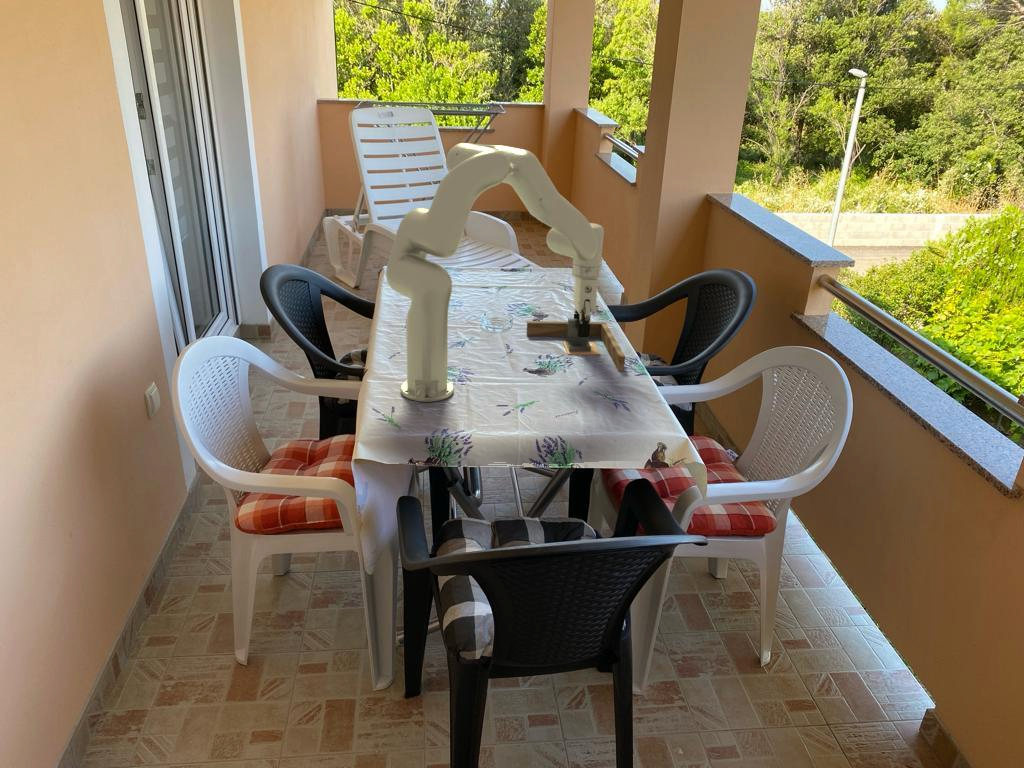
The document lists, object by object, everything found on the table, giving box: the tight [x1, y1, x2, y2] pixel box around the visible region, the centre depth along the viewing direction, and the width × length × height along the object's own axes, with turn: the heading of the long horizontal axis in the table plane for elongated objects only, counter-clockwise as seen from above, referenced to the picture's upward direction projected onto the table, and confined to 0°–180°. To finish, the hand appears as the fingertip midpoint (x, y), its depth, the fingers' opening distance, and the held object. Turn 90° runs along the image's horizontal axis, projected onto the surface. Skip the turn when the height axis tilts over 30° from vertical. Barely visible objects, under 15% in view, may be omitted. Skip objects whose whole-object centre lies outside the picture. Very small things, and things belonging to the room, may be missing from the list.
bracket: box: [565, 318, 591, 352], centre depth 205 cm, size 6×6×8 cm
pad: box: [562, 341, 601, 356], centre depth 207 cm, size 9×9×1 cm
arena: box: [526, 320, 626, 372], centre depth 204 cm, size 26×23×4 cm
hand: (580, 331), depth 207 cm, fingers open, 7 cm apart
